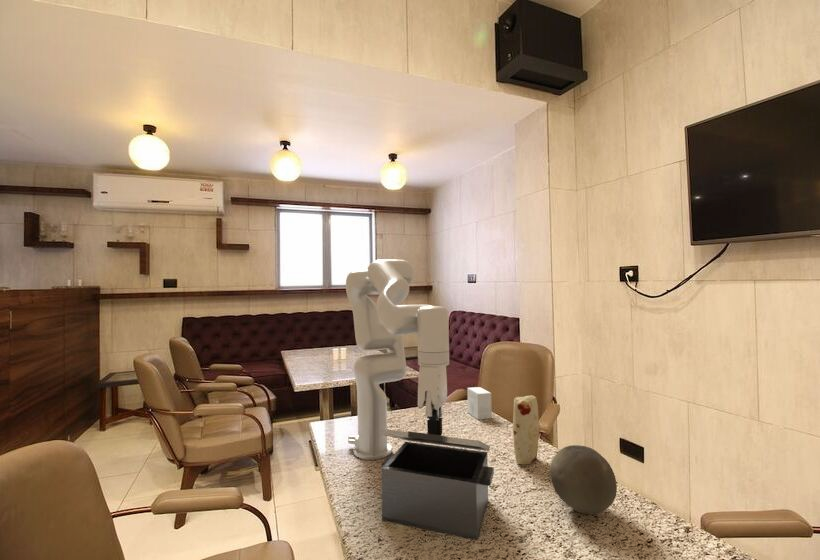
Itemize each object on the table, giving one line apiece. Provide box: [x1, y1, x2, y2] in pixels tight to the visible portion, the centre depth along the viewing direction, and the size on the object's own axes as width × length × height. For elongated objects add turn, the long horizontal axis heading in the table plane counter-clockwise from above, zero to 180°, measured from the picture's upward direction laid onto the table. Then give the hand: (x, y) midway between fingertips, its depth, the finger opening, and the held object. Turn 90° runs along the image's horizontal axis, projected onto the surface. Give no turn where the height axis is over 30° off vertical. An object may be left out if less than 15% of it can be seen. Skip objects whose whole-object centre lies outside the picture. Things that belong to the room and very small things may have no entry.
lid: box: [381, 428, 491, 452], centre depth 92 cm, size 23×19×1 cm
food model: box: [512, 394, 540, 465], centre depth 117 cm, size 10×7×20 cm
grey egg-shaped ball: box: [549, 444, 618, 515], centre depth 90 cm, size 14×14×15 cm
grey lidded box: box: [380, 441, 495, 541], centre depth 92 cm, size 26×16×12 cm, turn 70°
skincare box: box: [466, 386, 492, 420], centre depth 160 cm, size 10×6×10 cm, turn 16°
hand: (434, 434), depth 91 cm, fingers closed
